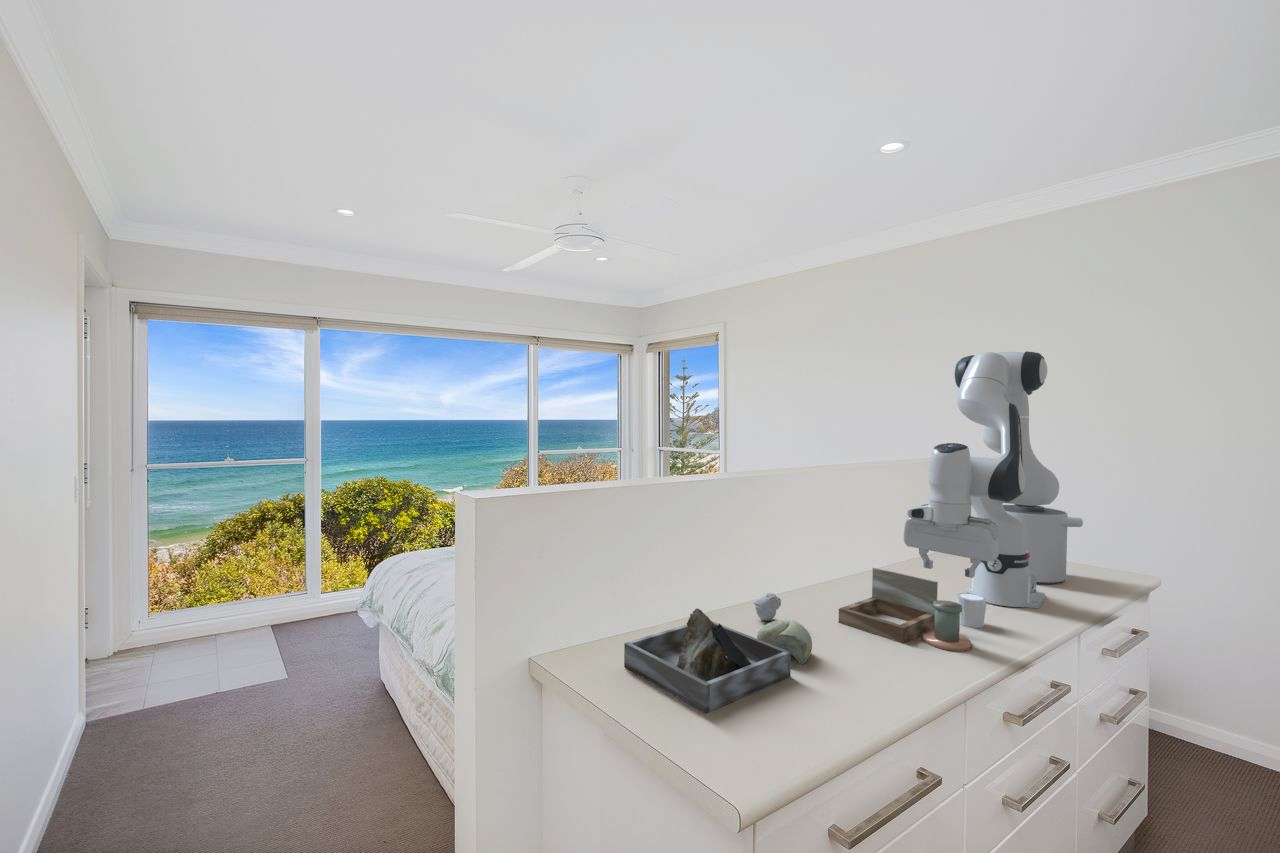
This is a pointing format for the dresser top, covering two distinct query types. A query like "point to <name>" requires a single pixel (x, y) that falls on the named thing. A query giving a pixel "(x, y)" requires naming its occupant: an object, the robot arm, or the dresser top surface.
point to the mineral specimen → (709, 649)
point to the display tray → (659, 667)
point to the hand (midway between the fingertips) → (948, 572)
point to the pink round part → (957, 646)
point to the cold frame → (894, 606)
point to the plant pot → (947, 620)
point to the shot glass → (972, 609)
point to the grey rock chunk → (767, 606)
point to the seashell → (788, 638)
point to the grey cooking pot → (1045, 540)
